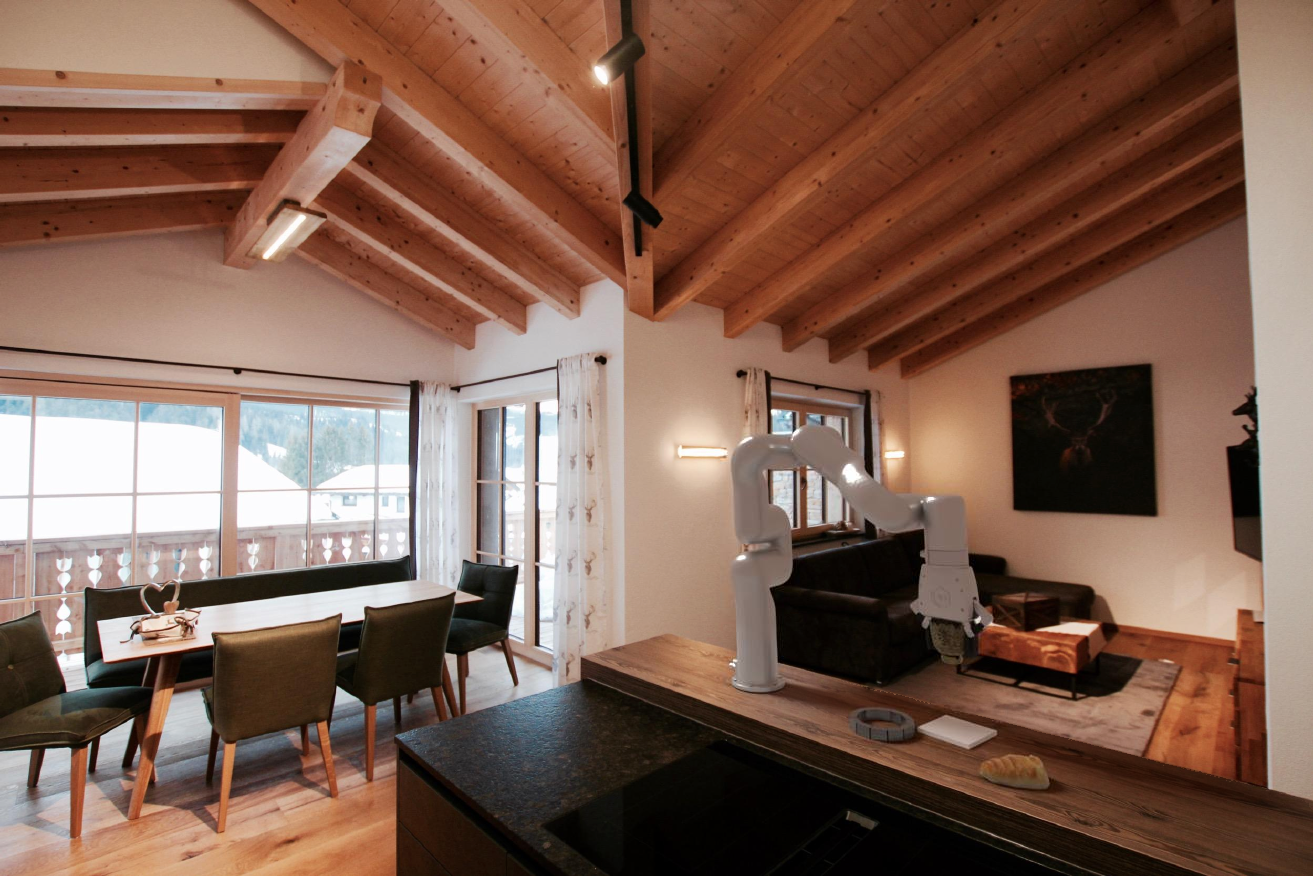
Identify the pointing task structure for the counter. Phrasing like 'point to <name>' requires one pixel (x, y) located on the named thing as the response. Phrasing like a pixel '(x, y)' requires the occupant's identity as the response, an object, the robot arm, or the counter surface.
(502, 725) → the counter surface
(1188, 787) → the counter surface
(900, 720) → the stone ring
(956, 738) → the stone coaster
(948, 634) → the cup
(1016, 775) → the pastry
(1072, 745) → the counter surface
